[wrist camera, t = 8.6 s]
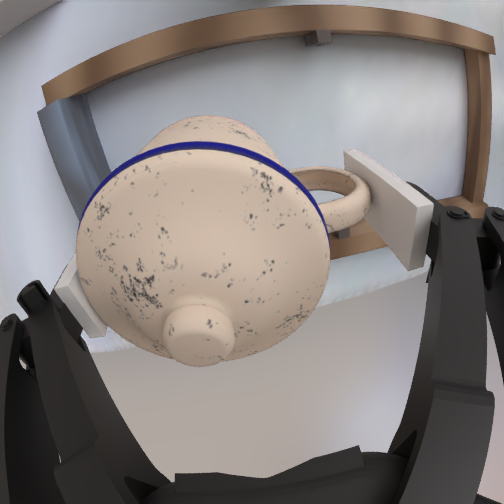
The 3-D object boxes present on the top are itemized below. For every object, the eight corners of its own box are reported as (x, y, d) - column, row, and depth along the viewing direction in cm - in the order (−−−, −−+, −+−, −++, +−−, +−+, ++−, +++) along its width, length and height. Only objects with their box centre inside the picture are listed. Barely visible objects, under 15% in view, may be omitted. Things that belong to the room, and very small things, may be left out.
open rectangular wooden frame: (473, 35, 15) (503, 37, 11) (469, 208, 27) (492, 226, 23) (60, 82, 16) (30, 88, 12) (140, 281, 28) (131, 313, 24)
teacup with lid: (165, 263, 20) (140, 423, 10) (111, 141, 14) (-17, 257, 5) (334, 219, 19) (422, 359, 9) (314, 83, 14) (472, 119, 4)
